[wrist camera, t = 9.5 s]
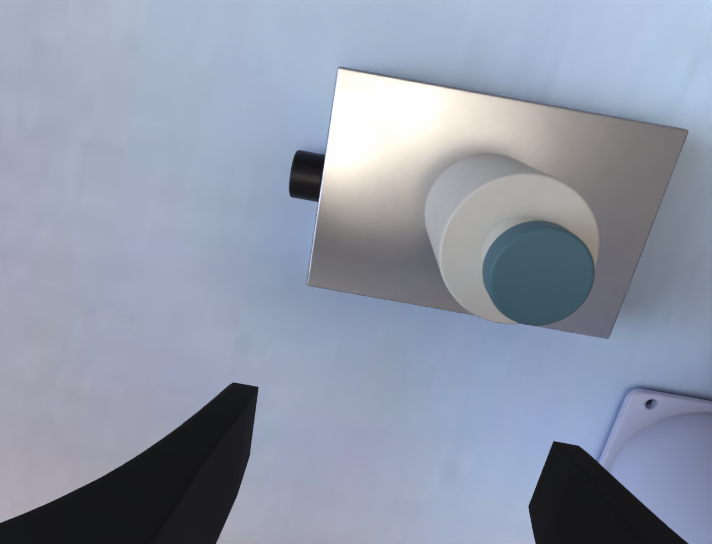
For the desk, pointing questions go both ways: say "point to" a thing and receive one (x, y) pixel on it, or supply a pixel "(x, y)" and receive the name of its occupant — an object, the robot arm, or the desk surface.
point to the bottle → (511, 240)
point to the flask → (447, 146)
